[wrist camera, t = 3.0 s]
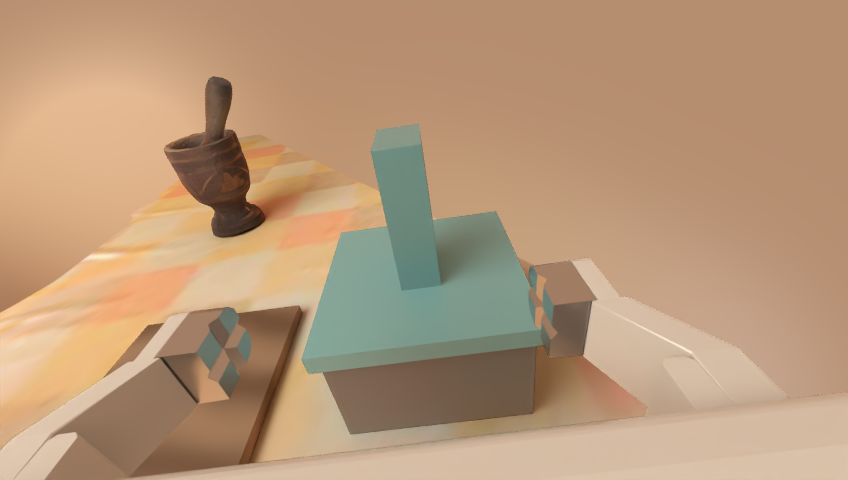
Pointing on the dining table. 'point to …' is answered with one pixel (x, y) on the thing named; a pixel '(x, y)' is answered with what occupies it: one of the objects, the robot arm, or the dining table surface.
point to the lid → (418, 278)
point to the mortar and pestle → (216, 166)
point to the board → (226, 419)
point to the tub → (435, 390)
